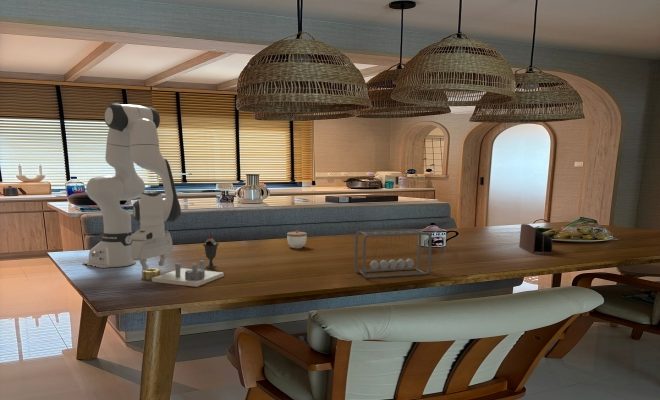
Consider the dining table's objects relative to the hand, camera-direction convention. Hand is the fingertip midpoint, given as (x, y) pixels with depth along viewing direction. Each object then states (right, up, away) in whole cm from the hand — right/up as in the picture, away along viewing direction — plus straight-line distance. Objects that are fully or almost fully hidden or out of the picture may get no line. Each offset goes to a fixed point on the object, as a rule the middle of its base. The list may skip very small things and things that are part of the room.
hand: (153, 267), depth 190 cm
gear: (-1, -4, 0) cm, 4 cm away
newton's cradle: (+95, -4, +12) cm, 96 cm away
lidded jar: (+51, +1, +72) cm, 88 cm away
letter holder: (+178, -1, +69) cm, 191 cm away
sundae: (+17, -3, +20) cm, 27 cm away
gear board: (+14, -4, -1) cm, 15 cm away
